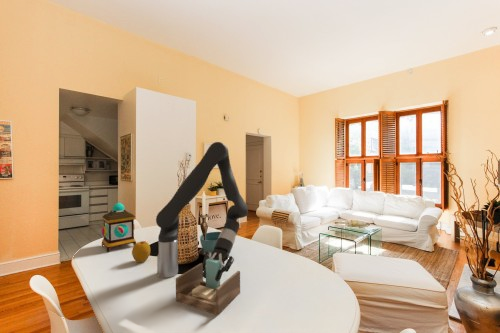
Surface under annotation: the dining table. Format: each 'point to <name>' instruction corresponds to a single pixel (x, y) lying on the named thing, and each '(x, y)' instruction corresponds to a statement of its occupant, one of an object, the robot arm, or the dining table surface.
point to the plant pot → (209, 241)
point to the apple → (141, 251)
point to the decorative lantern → (118, 227)
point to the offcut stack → (204, 293)
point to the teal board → (212, 273)
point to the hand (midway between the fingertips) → (210, 278)
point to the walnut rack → (195, 278)
